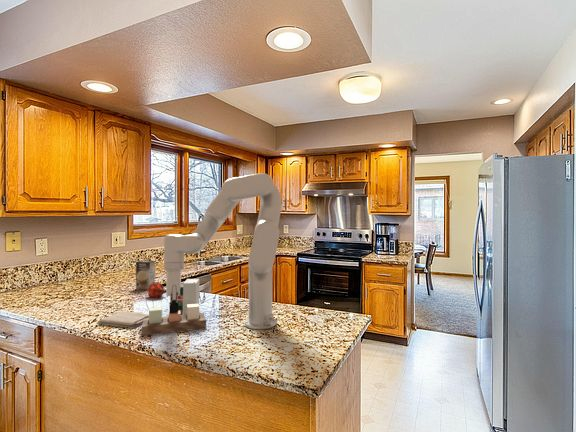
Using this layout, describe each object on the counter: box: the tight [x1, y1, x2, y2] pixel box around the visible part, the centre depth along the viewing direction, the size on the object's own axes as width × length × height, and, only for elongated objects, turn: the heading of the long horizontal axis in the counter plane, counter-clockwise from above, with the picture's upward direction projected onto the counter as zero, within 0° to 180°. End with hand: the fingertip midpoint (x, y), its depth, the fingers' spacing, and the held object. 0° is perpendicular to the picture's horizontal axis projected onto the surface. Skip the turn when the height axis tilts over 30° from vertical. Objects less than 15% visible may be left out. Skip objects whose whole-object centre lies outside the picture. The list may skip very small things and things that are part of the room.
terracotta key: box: [168, 311, 182, 322], centre depth 129 cm, size 4×4×5 cm
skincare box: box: [182, 278, 200, 315], centre depth 147 cm, size 8×6×15 cm
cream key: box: [187, 303, 200, 320], centre depth 132 cm, size 4×4×5 cm
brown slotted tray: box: [141, 312, 207, 336], centre depth 129 cm, size 23×10×3 cm, turn 110°
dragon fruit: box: [146, 281, 166, 299], centre depth 176 cm, size 8×8×12 cm
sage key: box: [148, 306, 163, 324], centre depth 127 cm, size 4×4×5 cm
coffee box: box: [135, 259, 156, 290], centre depth 197 cm, size 9×6×16 cm
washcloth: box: [97, 310, 149, 329], centre depth 136 cm, size 12×18×3 cm, turn 75°
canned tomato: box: [178, 283, 183, 312], centre depth 155 cm, size 8×8×11 cm
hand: (173, 312), depth 129 cm, fingers closed
